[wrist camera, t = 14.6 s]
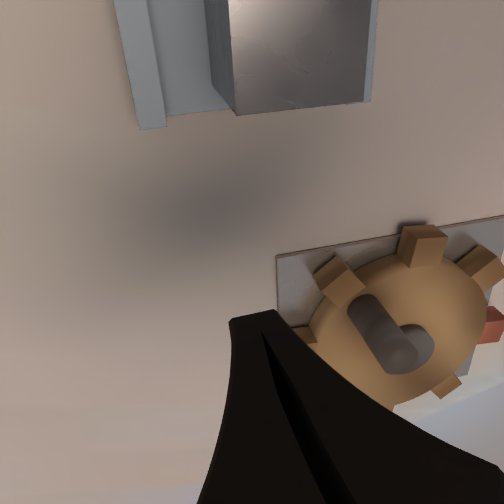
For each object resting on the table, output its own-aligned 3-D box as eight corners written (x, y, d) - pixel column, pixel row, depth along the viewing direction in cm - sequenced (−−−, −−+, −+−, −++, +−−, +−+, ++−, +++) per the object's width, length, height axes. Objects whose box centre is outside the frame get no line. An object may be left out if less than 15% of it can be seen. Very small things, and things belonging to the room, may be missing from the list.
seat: (354, -81, 16) (385, -91, 14) (346, 90, 19) (370, 101, 17) (103, -67, 14) (98, -77, 12) (139, 114, 18) (139, 130, 16)
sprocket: (432, 171, 22) (512, 221, 17) (525, 311, 29) (599, 372, 24) (228, 346, 25) (249, 429, 20) (359, 432, 32) (397, 508, 27)
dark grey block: (311, -44, 15) (376, -58, 11) (309, 75, 17) (363, 101, 13) (199, -38, 15) (224, -51, 10) (212, 85, 17) (236, 116, 13)
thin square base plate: (509, 214, 25) (512, 216, 25) (464, 371, 32) (467, 374, 31) (275, 255, 23) (277, 258, 22) (282, 414, 30) (283, 418, 29)
